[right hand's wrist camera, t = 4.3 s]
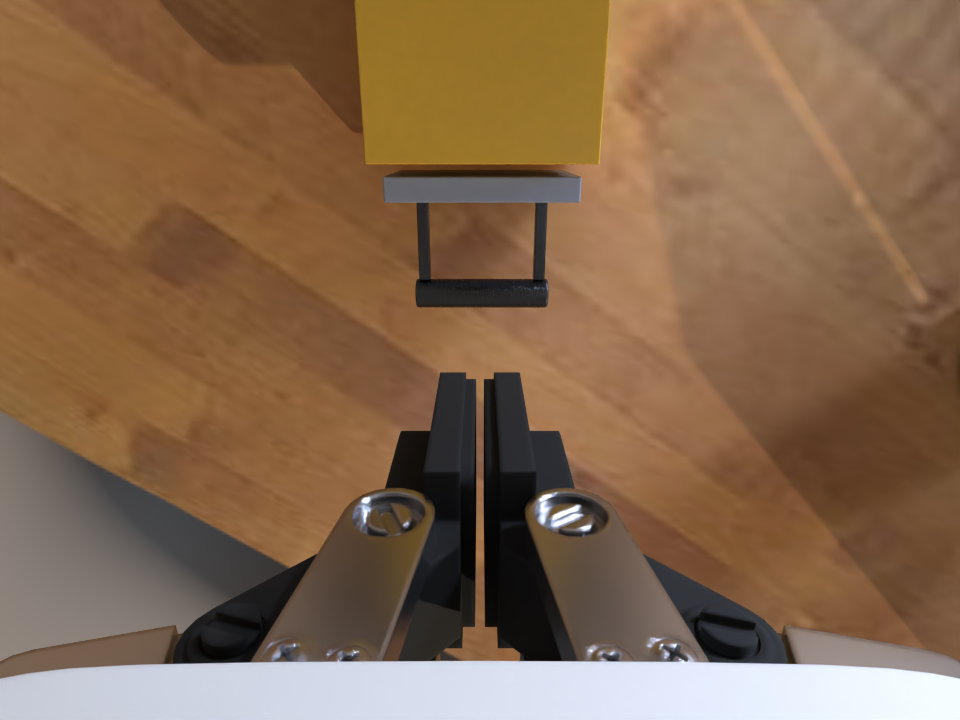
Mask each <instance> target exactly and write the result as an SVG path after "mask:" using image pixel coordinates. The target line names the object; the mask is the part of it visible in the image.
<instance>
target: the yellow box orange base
mask: <svg viewBox="0 0 960 720" xmlns="http://www.w3.org/2000/svg"><path fill="white" fill-rule="evenodd" d="M610 1H611V0H354V6H355V21H356V36H357V51H358V66H359V81H360V96H361V111H362V126H363V141H364V156H365V164H599V160H600V146H601V131H602V117H603V102H604V88H605V73H606V59H607V45H608V30H609V16H610Z"/></svg>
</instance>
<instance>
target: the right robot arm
mask: <svg viewBox="0 0 960 720" xmlns="http://www.w3.org/2000/svg"><path fill="white" fill-rule="evenodd" d="M475 572H476V379H466V373H440V378H439V384H438V389H437V395H436V401H435V407H434V413H433V419H432V425H431V430H430V431H401V433H400V436H399V439H398V443H397V447H396V450H395V454H394V458H393V461H392V465H391V469H390V472H389V476H388V480H387V483H386V487H385V489H380V490H375V491H372V492H369V493H366V494H364V495H362V496H360V497H358V498H357V499H355V500H354V501H352V502H351V503H350V504H349V505H348V507H347V508H346V509H345V510H344V512H343V513H342V515H341V516H340V518H339V520H338V521H337V523H336V525H335V526H334V528H333V529H332V531H331V533H330V534H329V536H328V537H327V539H326V541H325V542H324V544H323V546H322V547H321V549H320V550H319V552H318V554H316V555H314V556H312V557H310V558H308V559H306V560H305V561H303V562H301V563H299V564H297V565H295V566H293V567H291V568H289V569H288V570H286V571H284V572H282V573H280V574H278V575H276V576H274V577H272V578H271V579H269V580H267V581H265V582H263V583H261V584H259V585H257V586H255V587H254V588H252V589H250V590H248V591H246V592H244V593H242V594H240V595H238V596H236V597H235V598H233V599H231V600H229V601H227V602H225V603H223V604H221V605H219V606H217V607H216V608H214V609H212V610H210V611H209V612H207V613H206V614H204V615H203V616H201V617H200V618H198V619H197V620H195V621H194V622H193V623H192V624H191V625H190V626H189V627H188V628H187V629H186V630H185V631H184V633H182V634H178V633H177V629H176V625H173V626H167V627H161V628H155V629H150V630H144V631H138V632H132V633H127V634H121V635H115V636H109V637H104V638H98V639H92V640H86V641H80V642H74V643H69V644H63V645H57V646H51V647H46V648H40V649H34V650H30V651H27V652H23V653H20V654H16V655H13V656H10V657H8V658H6V659H4V660H2V661H0V720H960V661H958V660H956V659H954V658H952V657H950V656H947V655H944V654H940V653H937V652H933V651H930V650H926V649H920V648H914V647H909V646H903V645H897V644H891V643H886V642H880V641H874V640H868V639H862V638H857V637H851V636H845V635H839V634H834V633H828V632H822V631H816V630H810V629H805V628H799V627H793V626H787V625H784V628H783V633H782V634H778V633H776V631H775V630H774V629H773V628H772V627H771V626H770V625H769V624H768V623H767V622H766V621H765V620H763V619H762V618H760V617H759V616H757V615H756V614H754V613H753V612H751V611H750V610H748V609H746V608H744V607H743V606H741V605H739V604H737V603H735V602H733V601H731V600H729V599H727V598H725V597H724V596H722V595H720V594H718V593H716V592H714V591H712V590H710V589H708V588H707V587H705V586H703V585H701V584H699V583H697V582H695V581H693V580H691V579H689V578H688V577H686V576H684V575H682V574H680V573H678V572H676V571H674V570H672V569H671V568H669V567H667V566H665V565H663V564H661V563H659V562H657V561H655V560H654V559H652V558H650V557H648V556H646V555H644V554H642V552H641V550H640V549H639V547H638V546H637V544H636V542H635V541H634V539H633V537H632V536H631V534H630V533H629V531H628V529H627V528H626V526H625V525H624V523H623V521H622V520H621V518H620V516H619V515H618V513H617V512H616V510H615V509H614V508H613V507H612V505H611V504H610V503H609V502H608V501H606V500H605V499H603V498H602V497H600V496H598V495H596V494H594V493H591V492H588V491H585V490H580V489H575V487H574V483H573V480H572V476H571V472H570V469H569V465H568V461H567V458H566V454H565V450H564V447H563V443H562V439H561V436H560V433H559V431H530V430H529V425H528V419H527V413H526V407H525V401H524V395H523V389H522V384H521V378H520V373H494V379H484V572H485V627H497V637H498V648H514V649H515V650H517V651H518V652H519V653H520V661H440V653H441V652H442V651H443V650H445V649H446V648H462V637H463V627H475Z"/></svg>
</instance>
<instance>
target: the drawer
mask: <svg viewBox="0 0 960 720" xmlns="http://www.w3.org/2000/svg"><path fill="white" fill-rule="evenodd" d="M383 192H384V202H386V203H417V226H418V252H419V279H417V281H416V305H417V307H547V304H548V281H547V280H546V279H544V276H545V251H546V226H547V203H579V202H580V195H581V177H579V176H576V175H574V174H571V173H568V172H566V171H563V170H401V171H398V172H396V173H393V174H390V175H388V176H385V177H383ZM429 203H535V226H534V257H533V279H431V260H430V227H429Z"/></svg>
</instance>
